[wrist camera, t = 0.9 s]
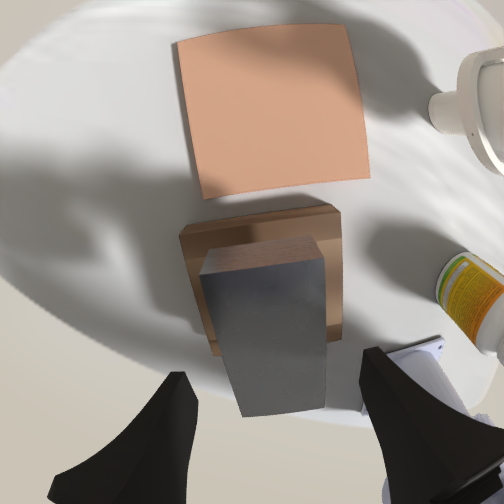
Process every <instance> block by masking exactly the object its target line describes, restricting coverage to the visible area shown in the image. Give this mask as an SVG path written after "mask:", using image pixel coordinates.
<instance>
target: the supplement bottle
mask: <svg viewBox="0 0 504 504" xmlns="http://www.w3.org/2000/svg"><path fill="white" fill-rule="evenodd" d="M436 299H437V302H438V304H439V305H440V306H441V307H442V309H443V310H444V311H445V312H446V313H447V314H448V315H449V316H450V317H451V318H452V320H453V321H454V322H455V323H456V324H457V325H458V326H459V328H460V329H461V330H462V331H463V332H464V333H465V334H466V336H467V337H468V338H469V339H470V340H471V342H472V343H473V344H474V345H475V347H476V348H477V349H478V350H479V351H480V352H481V353H482V354H483V355H486V356H493V355H496V354H497V358H498V359H499V361H500V362H501V364H502V365H503V366H504V275H503V274H501V273H500V272H499V271H498V270H496V269H495V268H493V267H492V266H491V265H489V264H488V263H487V262H485V261H484V260H482V259H481V258H479V257H478V256H476V255H474V254H473V253H470V252H463V253H460V254H458V255H456V256H455V257H453V258H452V259H451V260H450V261H449V262H448V263H447V264H446V266H445V267H444V268H443V270H442V272H441V273H440V276H439V278H438V281H437V285H436Z"/></svg>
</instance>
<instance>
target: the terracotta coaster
mask: <svg viewBox="0 0 504 504" xmlns="http://www.w3.org/2000/svg"><path fill="white" fill-rule="evenodd" d="M177 44H178V52H179V59H180V66H181V73H182V80H183V87H184V93H185V100H186V106H187V112H188V118H189V124H190V130H191V136H192V142H193V147H194V153H195V158H196V164H197V169H198V175H199V180H200V185H201V190H202V195H203V200H204V199H210V198H216V197H221V196H227V195H234V194H240V193H246V192H253V191H260V190H267V189H274V188H281V187H289V186H297V185H306V184H314V183H323V182H333V181H343V180H354V179H366V178H370V167H369V155H368V145H367V136H366V128H365V121H364V114H363V107H362V101H361V95H360V89H359V84H358V79H357V74H356V69H355V64H354V60H353V55H352V51H351V47H350V43H349V39H348V35H347V32H346V28H345V25H339V24H287V25H272V26H261V27H252V28H245V29H238V30H231V31H225V32H220V33H214V34H210V35H205V36H200V37H196V38H192V39H188V40H184V41H180V42H177Z"/></svg>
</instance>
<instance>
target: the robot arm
mask: <svg viewBox="0 0 504 504" xmlns="http://www.w3.org/2000/svg"><path fill="white" fill-rule="evenodd" d="M444 344H445V339H444V338H443V337H441V338H438V339H435V340H432V341H429V342H426V343H423V344H419V345H416V346H413V347H410V348H406V349H403V350H399V351H395V352H392V353H388V354H385V353H384V352H383V351H382V350H381V349H380V348H379V347H378V346H377V347H373V348H369V349H364V351H363V358H362V365H361V372H360V378H359V385H360V389H361V393H362V397H363V400H364V403H363V407H362V411H361V415H362V416H368V415H369V417H370V419H371V422H372V425H373V427H374V430H375V432H376V435H377V438H378V441H379V443H380V446H381V449H382V453H383V458H384V463H385V467H386V472H387V477H386V479H385V482H384V485H383V489H382V501H383V504H504V429H502V428H498V427H496V426H495V425H494V423H493V422H492V420H491V419H490V417H489V416H488V415H487V414H480V413H478V414H477V415H475V416H474V417H472V416H470V414H469V412H468V411H467V409H466V407H465V405H464V404H463V402H462V400H461V398H460V397H459V395H458V393H457V392H456V390H455V388H454V387H453V385H452V384H451V382H450V380H449V379H448V377H447V376H446V374H445V372H444V371H443V369H442V368H441V366H440V365H439V363H438V361H439V358H440V355H441V353H442V350H443V347H444ZM197 417H198V399H197V397H196V395H195V393H194V391H193V389H192V387H191V384H190V382H189V380H188V378H187V376H186V374H185V371H184V372H170V373H169V375H168V376H167V377H166V379H165V380H164V381H163V383H162V384H161V385H160V387H159V388H158V390H157V391H156V392H155V394H154V395H153V396H152V398H151V399H150V400H149V402H148V403H147V404H146V405H145V406H144V408H143V409H142V410H141V411H140V413H139V414H138V415H137V416H136V417H135V418H134V419H133V420H132V422H131V423H130V424H129V425H128V426H127V427H126V428H125V429H124V430H123V431H122V432H121V433H120V434H119V435H118V436H117V437H116V438H115V439H114V440H113V441H111V442H110V443H109V444H108V445H107V446H105V447H104V448H103V449H102V450H100V451H99V452H97V453H96V454H95V455H93V456H92V457H90V458H89V459H87V460H86V461H84V462H82V463H80V464H79V465H77V466H75V467H73V468H71V469H69V470H67V471H65V472H63V473H60V474H58V475H56V476H55V477H54V480H53V482H52V485H51V488H50V490H49V493H48V496H47V498H48V499H49V500H50V501H52V502H53V503H55V504H186V488H187V472H188V465H189V460H190V455H191V450H192V445H193V440H194V435H195V430H196V425H197Z"/></svg>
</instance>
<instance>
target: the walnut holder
mask: <svg viewBox="0 0 504 504" xmlns="http://www.w3.org/2000/svg"><path fill="white" fill-rule="evenodd" d="M307 235H312V237H313V239H314V241H315V242H316V244H317V246H318V247H319V249H320V251H321V253H322V254H323V256H324V259H325V281H326V343H327V342H332V341H338V340H341V339H342V311H343V258H342V230H341V212H340V211H339V210H337V209H336V208H335V207H334V206H333V205H331V204H329V205H321V206H313V207H305V208H297V209H290V210H282V211H275V212H268V213H261V214H254V215H247V216H240V217H234V218H227V219H221V220H215V221H209V222H203V223H197V224H191V225H187V226H186V227H185V228H184V229H183V231H182V232H181V233H180V234H179V239H180V243H181V247H182V251H183V255H184V258H185V262H186V266H187V270H188V273H189V277H190V281H191V284H192V288H193V291H194V295H195V298H196V302H197V305H198V308H199V312H200V315H201V318H202V321H203V325H204V328H205V331H206V334H207V337H208V340H209V344H210V347H211V350H212V353H213V356H222V354H221V351H220V348H219V345H218V341H217V338H216V335H215V331H214V328H213V324H212V321H211V318H210V314H209V311H208V307H207V303H206V300H205V296H204V292H203V289H202V285H201V281H200V277H199V273H200V271H201V268H202V266H203V263H204V261H205V259H206V256H207V254H208V251H209V249H215V248H222V247H229V246H236V245H243V244H250V243H257V242H264V241H271V240H278V239H286V238H293V237H300V236H307Z"/></svg>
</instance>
